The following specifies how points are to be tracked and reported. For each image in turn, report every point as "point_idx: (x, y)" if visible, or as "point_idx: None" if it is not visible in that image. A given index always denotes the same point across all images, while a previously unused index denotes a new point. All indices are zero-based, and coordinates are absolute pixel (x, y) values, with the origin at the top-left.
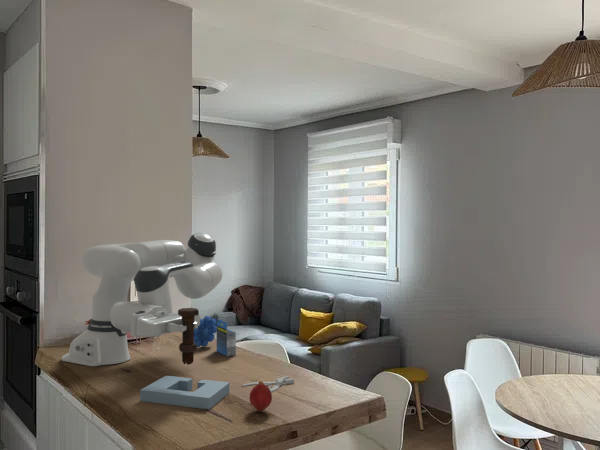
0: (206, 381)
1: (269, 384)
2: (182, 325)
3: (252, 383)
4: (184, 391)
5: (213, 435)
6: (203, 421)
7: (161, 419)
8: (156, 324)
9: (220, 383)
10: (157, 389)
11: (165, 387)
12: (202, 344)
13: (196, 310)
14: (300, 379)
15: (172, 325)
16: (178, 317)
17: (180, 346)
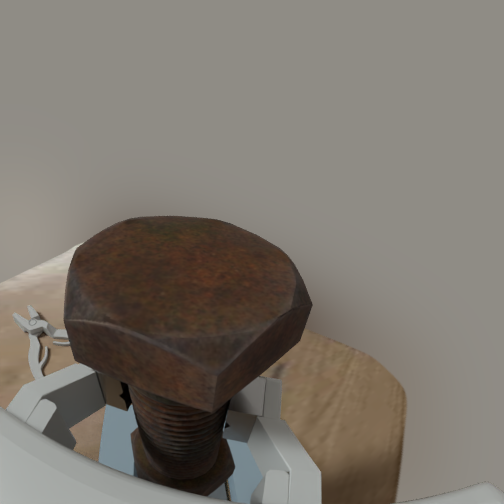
0: (114, 464)
1: (40, 347)
2: (274, 382)
3: (39, 376)
4: (239, 488)
5: (347, 363)
6: (313, 403)
7: (359, 473)
8: (463, 489)
9: (122, 422)
10: None
11: None
12: None
13: (197, 219)
14: (14, 304)
15: (307, 462)
16: (64, 484)
17: (221, 480)
